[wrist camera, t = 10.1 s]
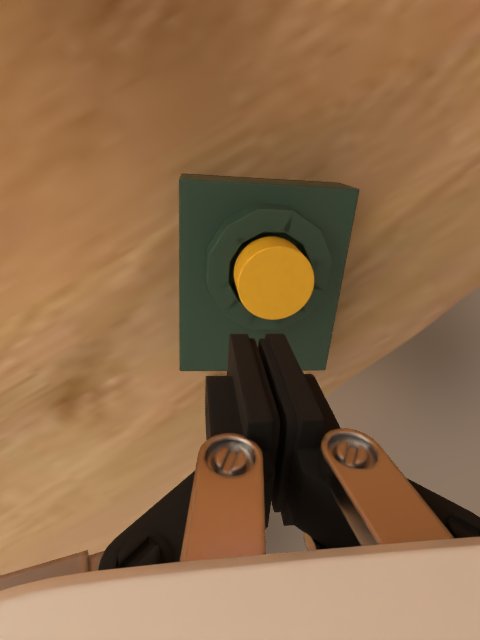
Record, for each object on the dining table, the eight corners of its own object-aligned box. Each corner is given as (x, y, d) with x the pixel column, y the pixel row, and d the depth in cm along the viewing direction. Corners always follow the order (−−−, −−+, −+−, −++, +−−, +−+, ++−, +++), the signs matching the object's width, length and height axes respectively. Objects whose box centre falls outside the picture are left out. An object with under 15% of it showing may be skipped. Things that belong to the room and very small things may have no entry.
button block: (180, 173, 23) (178, 182, 18) (340, 183, 24) (373, 193, 20) (180, 347, 28) (178, 387, 24) (312, 347, 29) (334, 385, 25)
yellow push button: (235, 234, 20) (240, 244, 18) (308, 237, 21) (320, 247, 19) (231, 303, 22) (235, 319, 20) (299, 304, 22) (308, 320, 21)
